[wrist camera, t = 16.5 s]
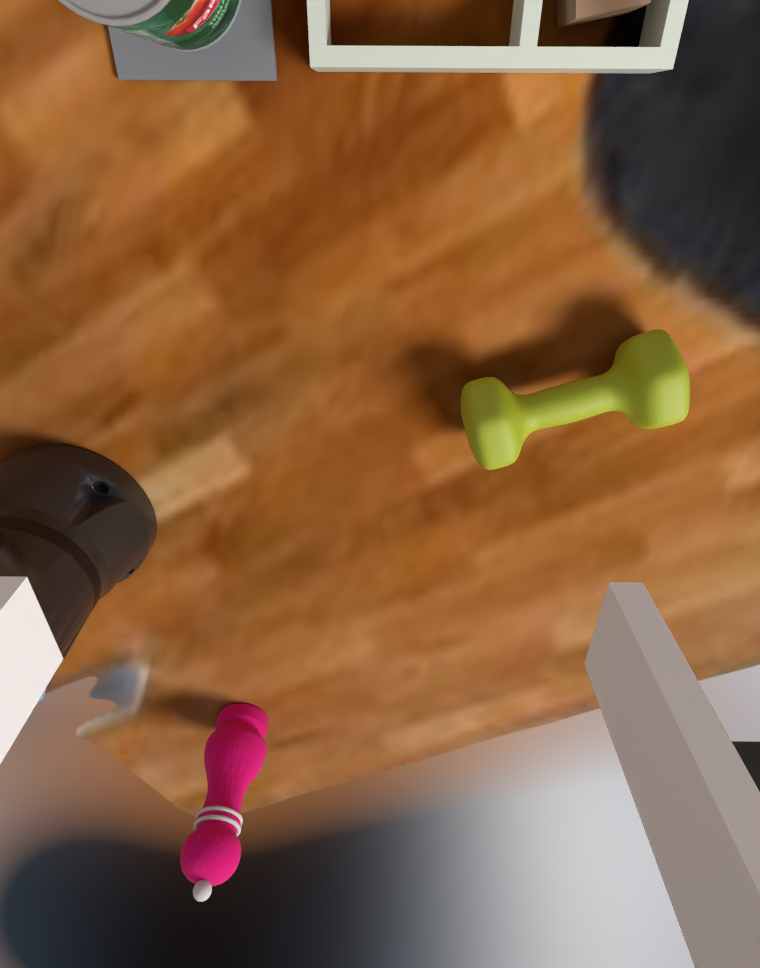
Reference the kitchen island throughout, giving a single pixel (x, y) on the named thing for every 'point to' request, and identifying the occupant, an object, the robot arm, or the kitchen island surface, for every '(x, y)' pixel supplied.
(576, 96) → the kitchen island surface
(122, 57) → the slate coaster
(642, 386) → the dumbbell
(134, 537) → the robot arm
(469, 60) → the caddy
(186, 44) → the canned tomato
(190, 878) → the pepper mill
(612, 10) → the walnut block
